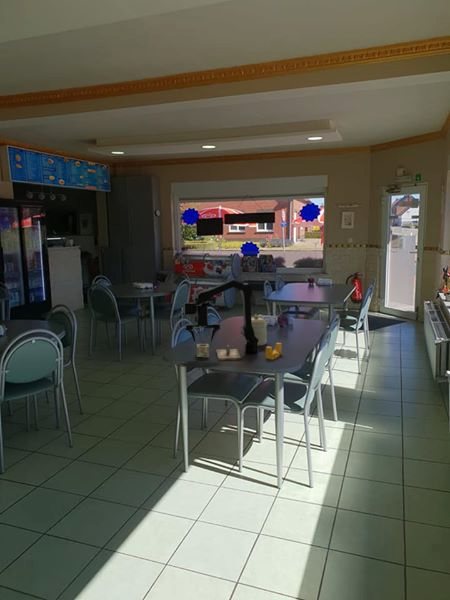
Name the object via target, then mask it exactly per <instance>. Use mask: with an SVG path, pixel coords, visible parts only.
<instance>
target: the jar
mask: <svg viewBox="0 0 450 600" xmlns="http://www.w3.org/2000/svg"><path fill="white" fill-rule="evenodd" d="M251 322H252V327H253V330H254V334H255V337H256V338H257V339H258V340H259V341H258V343H257V347H258V346H264V345H266V344H267V342H268V340H267V339H268V338H267V331H268V329H267V326H268V323H266V319H264V318H262V317H259V316H258V315H257V314H255V315H254V316H253V317H251Z"/></svg>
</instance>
